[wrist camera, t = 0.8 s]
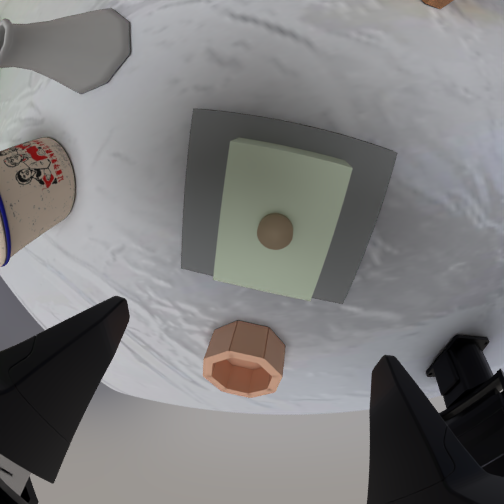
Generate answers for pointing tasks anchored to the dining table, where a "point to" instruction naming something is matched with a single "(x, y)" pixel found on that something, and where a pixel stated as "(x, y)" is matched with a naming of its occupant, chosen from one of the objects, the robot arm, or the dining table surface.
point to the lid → (278, 216)
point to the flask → (68, 47)
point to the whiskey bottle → (437, 3)
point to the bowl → (244, 359)
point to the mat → (292, 135)
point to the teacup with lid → (32, 192)
